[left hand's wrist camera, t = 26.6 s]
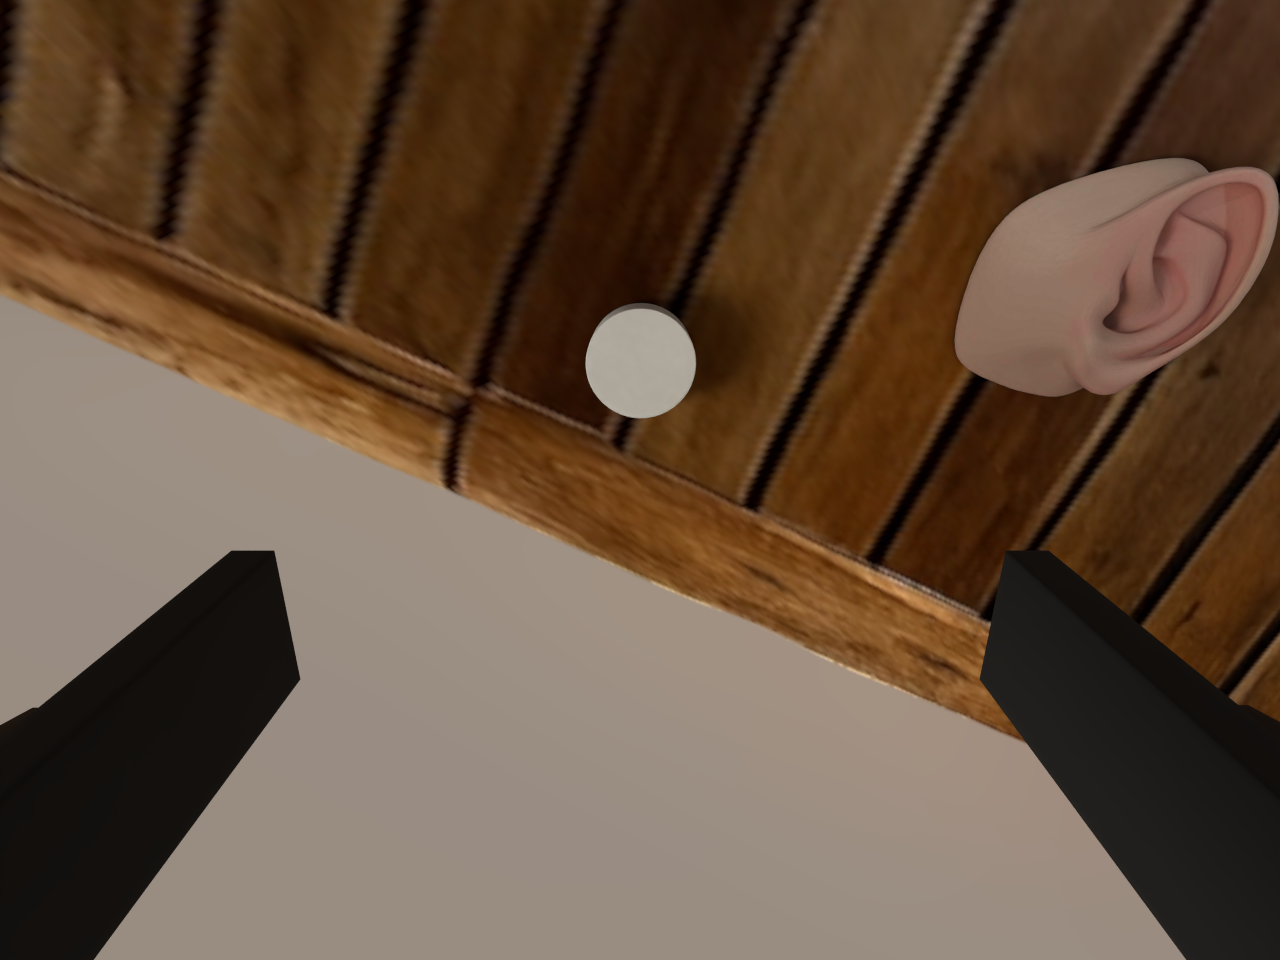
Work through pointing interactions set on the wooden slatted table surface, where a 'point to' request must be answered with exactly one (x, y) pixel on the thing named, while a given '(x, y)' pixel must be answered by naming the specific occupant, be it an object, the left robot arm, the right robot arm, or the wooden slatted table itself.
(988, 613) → the wooden slatted table surface
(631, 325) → the lid
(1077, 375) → the anatomical model
